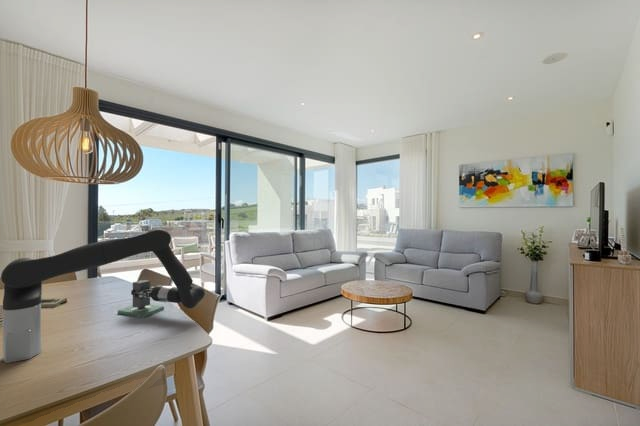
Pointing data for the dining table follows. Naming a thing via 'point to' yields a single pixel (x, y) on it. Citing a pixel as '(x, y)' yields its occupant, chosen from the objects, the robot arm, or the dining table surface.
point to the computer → (52, 302)
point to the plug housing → (144, 285)
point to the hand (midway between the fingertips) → (137, 290)
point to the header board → (140, 310)
